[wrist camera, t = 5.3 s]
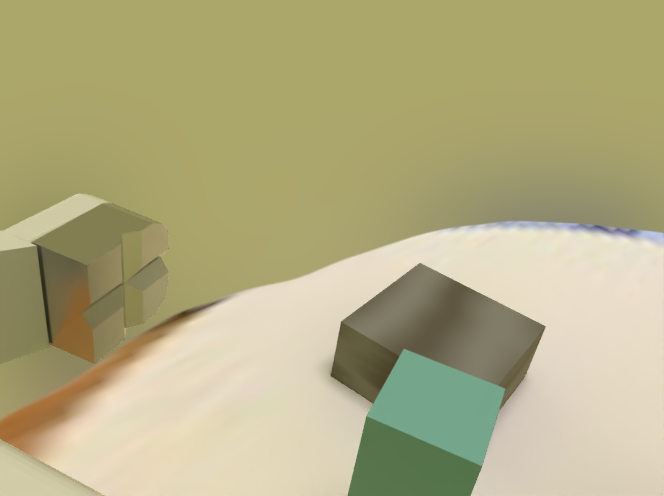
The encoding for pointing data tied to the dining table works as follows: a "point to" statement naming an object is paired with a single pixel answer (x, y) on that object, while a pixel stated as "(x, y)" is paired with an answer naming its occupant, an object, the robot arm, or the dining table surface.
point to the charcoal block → (434, 334)
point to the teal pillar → (425, 431)
